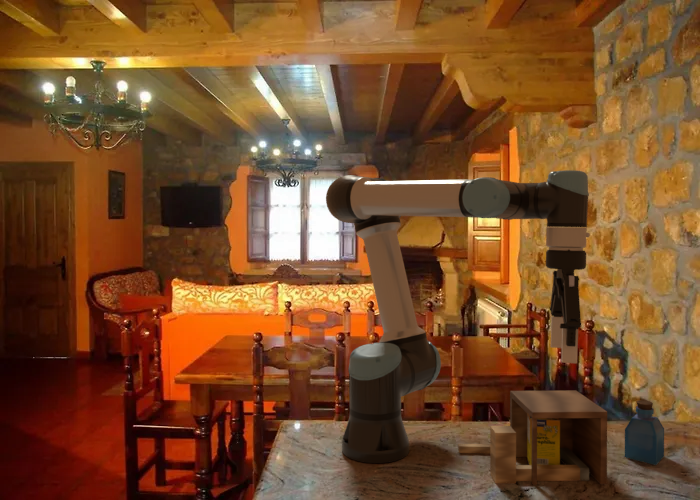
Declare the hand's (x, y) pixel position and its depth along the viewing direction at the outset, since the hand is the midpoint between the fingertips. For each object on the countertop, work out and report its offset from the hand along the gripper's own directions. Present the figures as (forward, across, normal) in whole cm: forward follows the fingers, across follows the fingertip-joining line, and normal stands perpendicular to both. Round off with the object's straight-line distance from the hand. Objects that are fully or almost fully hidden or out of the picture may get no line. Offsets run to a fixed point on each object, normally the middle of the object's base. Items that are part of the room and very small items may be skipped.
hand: (563, 354), depth 113 cm
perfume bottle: (+24, +13, -20) cm, 34 cm away
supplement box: (+25, +3, +3) cm, 25 cm away
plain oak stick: (+25, +9, +14) cm, 30 cm away
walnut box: (+24, +3, 0) cm, 25 cm away
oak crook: (+25, +1, +5) cm, 25 cm away
